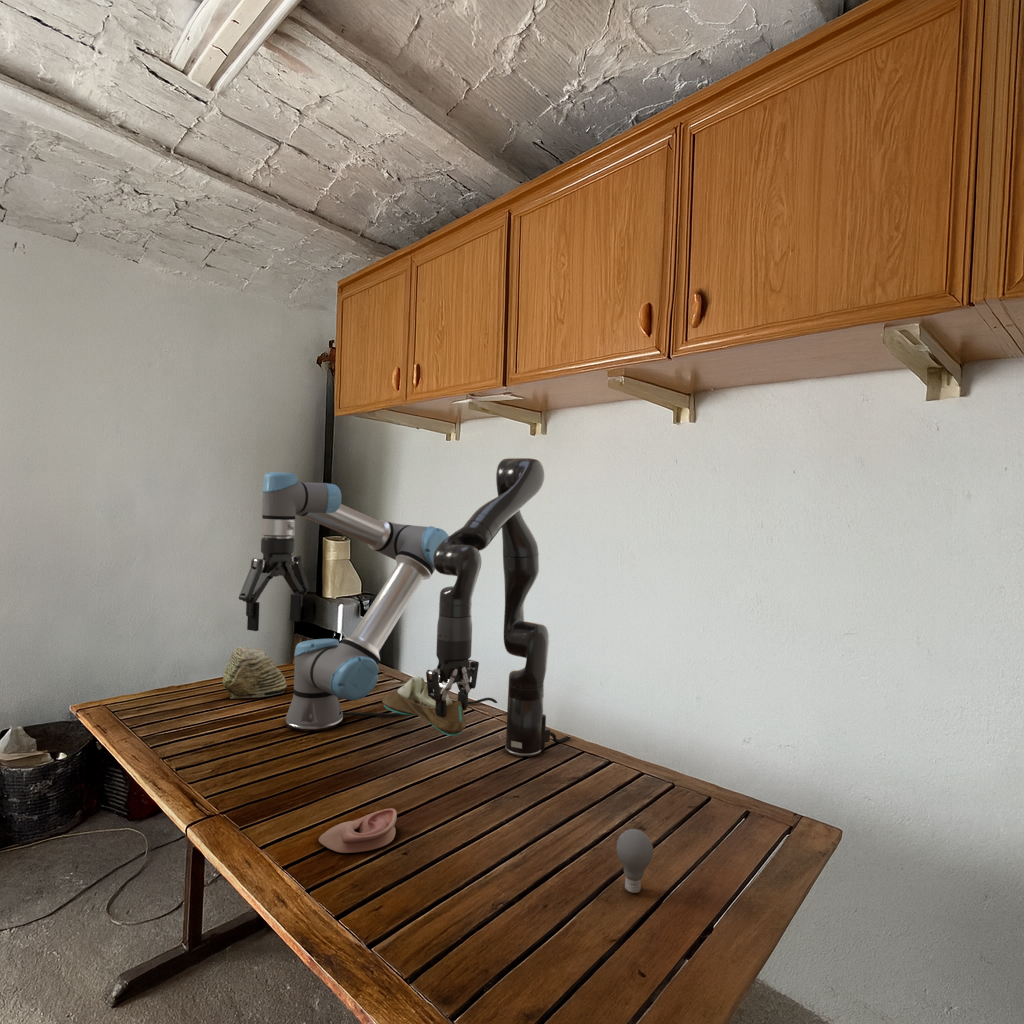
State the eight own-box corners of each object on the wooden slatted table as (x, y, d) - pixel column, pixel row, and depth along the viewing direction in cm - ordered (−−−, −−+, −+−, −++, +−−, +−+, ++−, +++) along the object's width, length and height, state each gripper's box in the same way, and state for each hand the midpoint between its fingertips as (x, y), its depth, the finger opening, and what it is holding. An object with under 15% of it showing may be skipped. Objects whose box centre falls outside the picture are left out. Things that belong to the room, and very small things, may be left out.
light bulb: (610, 879, 108) (613, 822, 108) (644, 879, 109) (647, 822, 109) (619, 902, 102) (622, 840, 102) (655, 901, 103) (658, 840, 103)
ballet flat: (403, 700, 154) (405, 664, 154) (473, 732, 138) (476, 692, 137) (375, 707, 148) (377, 670, 147) (445, 742, 132) (448, 700, 131)
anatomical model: (310, 826, 114) (340, 797, 125) (309, 848, 114) (339, 817, 125) (379, 837, 111) (403, 806, 122) (378, 859, 111) (403, 827, 123)
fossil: (218, 695, 195) (220, 647, 195) (278, 685, 208) (279, 640, 207) (228, 703, 189) (230, 653, 188) (289, 692, 201) (290, 645, 201)
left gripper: (249, 540, 138) (245, 636, 139) (325, 536, 161) (322, 619, 162) (223, 537, 141) (220, 632, 142) (302, 534, 164) (299, 615, 165)
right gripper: (442, 643, 129) (439, 726, 129) (489, 633, 140) (486, 709, 140) (417, 637, 134) (414, 716, 134) (465, 628, 145) (462, 701, 145)
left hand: (274, 625), depth 152 cm, fingers open, 13 cm apart
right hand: (451, 712), depth 137 cm, fingers closed on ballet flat, 5 cm apart
